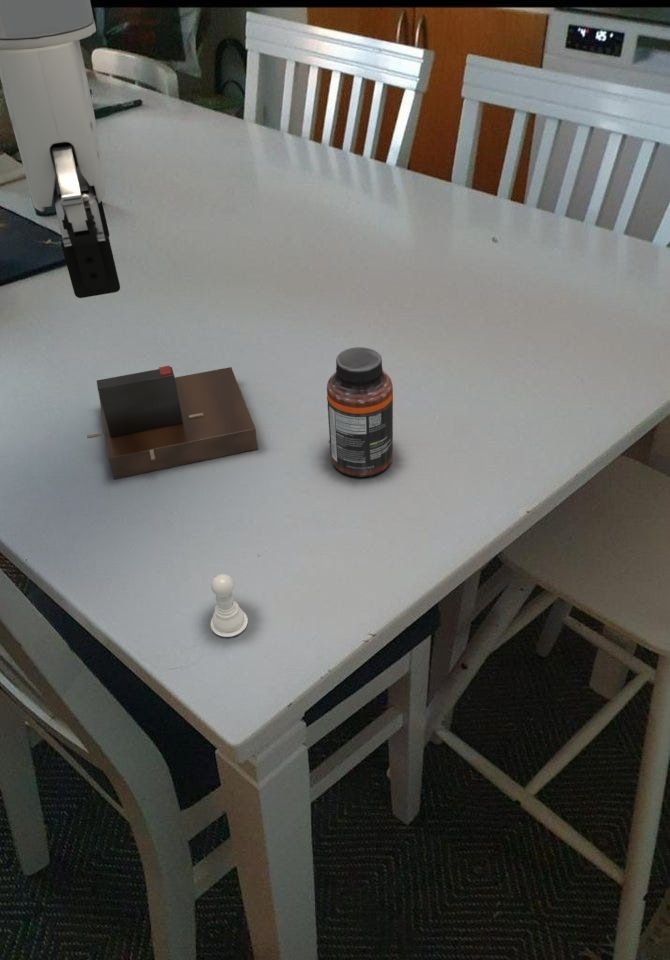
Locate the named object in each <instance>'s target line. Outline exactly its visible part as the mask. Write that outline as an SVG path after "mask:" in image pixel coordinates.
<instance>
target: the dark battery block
mask: <svg viewBox="0 0 670 960" xmlns="http://www.w3.org/2000/svg"><path fill="white" fill-rule="evenodd" d="M96 387H97V392H98V397H99V396H100V399H99V401H100V400H101V404H102V407H103V411H104V415H105V419H106V423H107V427H108V430H109V434H110V437H115V436H120V435H125V434H130V433H135V432H140V431H145V430H150V429H155V428H160V427H165V426H170V425H175V424H181V423H183V419H182V414H181V409H180V403H179V398H178V393H177V387H176V382H175V374H174V370H173V367H172V366H171V365H163V366H159V367H158V368H156V369H152V370H145V371H141V372H135V373H130V374H129V373H128V374H124V375H119V376H113V377H108V378H103V379H97V380H96Z"/></svg>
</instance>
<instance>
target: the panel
mask: <svg viewBox="0 0 670 960" xmlns="http://www.w3.org/2000/svg"><path fill="white" fill-rule="evenodd" d="M174 377H175V376H174ZM175 382H176V387H177V393H178V398H179V403H180V409H181V414H182V419H183V423H181V424H175V425H170V426H165V427H160V428H155V429H150V430H145V431H140V432H135V433H130V434H125V435H120V436H115V437H110V434H109V430H108V427H107V423H106V419H105V415H104V411H103V407H102V404H101V400H100V396H99V395H98V397H99V405H100V412H101V420H102V427H103V432H98V433H92V434H87V435H86V438H87V439H88V440H89V439H93V438H98V437H99V438H100V437H102V436H103V433H104V441H105V447H106V454H107V455H106V456H107V460H108V464H109V468H110V472H111V475H112V479H113V480H117V479H121V478H125V477H131V476H135V475H140V474H144V473H149V472H154V471H159V470H165V469H169V468H173V467H174V468H175V467H178V466H183V465H188V464H193V463H197V462H203V461H207V460H213V459H216V458H222V457H226V456H233V455H237V454H241V453H245V452H251V451H256V450H258V449H259V446H258V438H257V429H256V426H255V424H254V420H253V418H252V416H251V414H250V411H249V409H248V406H247V403H246V401H245V398H244V396H243V394H242V390H241V388H240V385H239V383H238V381H237V378H236V376H235V373H234V370H233V368H232V366H229V367H224V368H219V369H213V370H208V371H203V372H197V373H191V374H186V375H180V376H176V377H175Z"/></svg>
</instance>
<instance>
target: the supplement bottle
mask: <svg viewBox="0 0 670 960" xmlns="http://www.w3.org/2000/svg"><path fill="white" fill-rule="evenodd" d="M335 366H336V367H335V372H334V373H333V374H332V375H331V376H330V377H329V379H328V381H327V384H326V401H327V418H328V419H327V420H328V434H329V440H328V444H329V453H330V459H331V463H332V465H333V466H334V467H335V468H336V469H337V470H338V471H339V472H341V473H342V474H345V475H348V476H353V477H359V478H364V477H370V476H374V475H377V474H379V473H381V472H383V471H384V470H386V469H387V468H388V467H389V466H390V464H391V462H392V460H393V450H394V432H393V431H394V387H393V386H394V385H393V382H392V378H391V377H390V376H389V374H388V373H387V372H386V371H384V370H383V357H382V356H381V353H379V352H378V351H376V349H372V348H370V347H364V346H363V347H362V346H361V347H360V346H359V347H358V346H356V347H355V346H354V347H350V348H347V349H344V350H343V351H341V352H339V353H338V355H337V356H336V359H335Z"/></svg>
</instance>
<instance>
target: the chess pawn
mask: <svg viewBox="0 0 670 960" xmlns="http://www.w3.org/2000/svg"><path fill="white" fill-rule="evenodd" d="M234 589H235V582H234V579H233V578H232V577H231V576H230V575H229V574H226V573H219V574H217V575H215V576H214V577H213V578H212V579H211V582H210V590H211V592H212V593H213V595H215V601H216V603H217V604H216V605H215V608H214V611H213V615H212V618H211V619H210V629H211V631H212V632H213V633H214V634H215V635H217V636H219V637H221V638H231V637H236V636H237V635H240V634H241V633H243V631H244V630H245V629H246V628H247V626H248V622H249V621H248V615H247V613H246V612H245V611H243V609H242V608H241V607H240V606H239V604H238V602H237V601H235V600H234V599H235V594H234Z"/></svg>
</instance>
